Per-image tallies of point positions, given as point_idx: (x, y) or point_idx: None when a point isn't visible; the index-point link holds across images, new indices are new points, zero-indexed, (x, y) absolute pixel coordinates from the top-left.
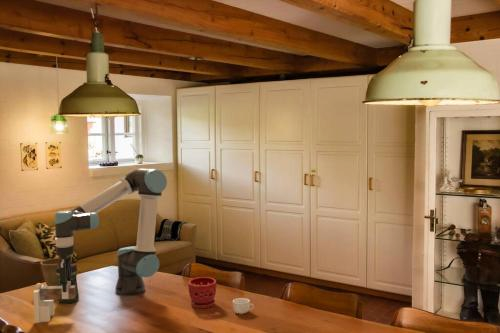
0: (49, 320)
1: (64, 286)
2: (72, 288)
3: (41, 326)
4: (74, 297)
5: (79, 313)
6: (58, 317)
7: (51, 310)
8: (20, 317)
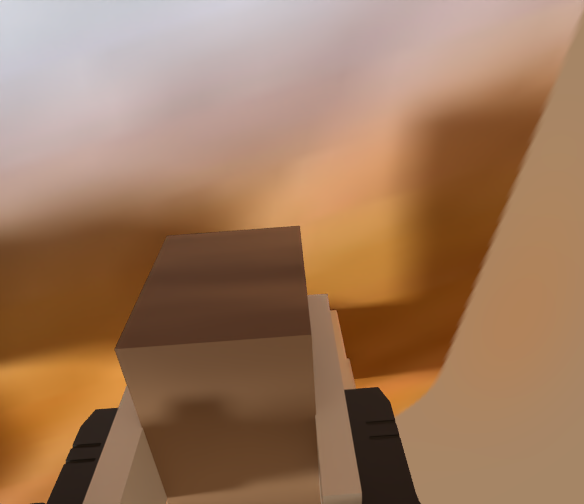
0: (336, 314)
1: (412, 497)
2: (309, 348)
3: (423, 327)
4: (265, 233)
5: (158, 132)
6: None
7: None
8: None
